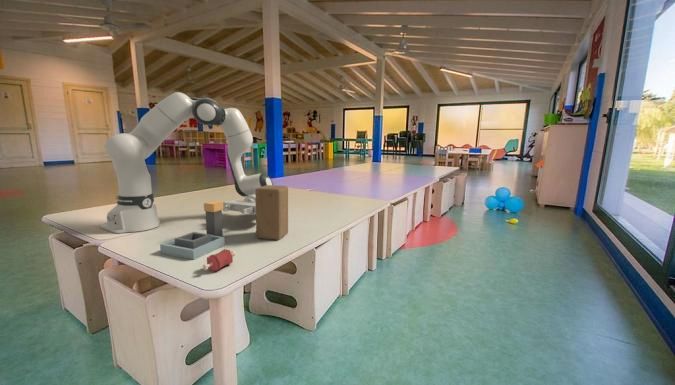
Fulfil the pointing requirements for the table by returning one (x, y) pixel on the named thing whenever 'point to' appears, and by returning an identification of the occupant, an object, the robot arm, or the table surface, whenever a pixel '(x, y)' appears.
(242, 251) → the table surface
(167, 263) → the table surface
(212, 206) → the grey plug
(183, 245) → the box
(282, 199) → the wooden block
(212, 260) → the meat
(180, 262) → the table surface
